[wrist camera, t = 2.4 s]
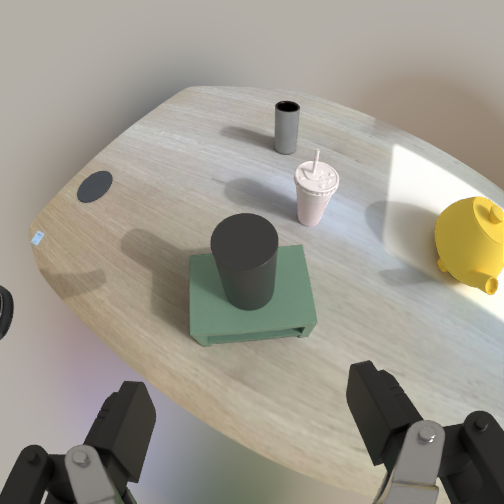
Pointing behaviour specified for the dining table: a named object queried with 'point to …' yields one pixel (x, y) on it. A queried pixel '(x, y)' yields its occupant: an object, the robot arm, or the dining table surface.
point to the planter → (286, 126)
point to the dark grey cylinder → (246, 259)
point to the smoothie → (314, 189)
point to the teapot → (472, 242)
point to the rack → (257, 321)
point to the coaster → (94, 186)
